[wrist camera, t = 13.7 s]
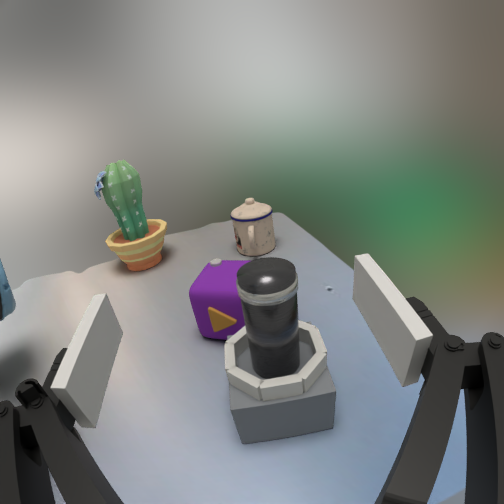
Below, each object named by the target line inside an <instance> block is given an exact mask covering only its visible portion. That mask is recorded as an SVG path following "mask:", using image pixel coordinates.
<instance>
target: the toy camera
mask: <svg viewBox="0 0 504 504" xmlns="http://www.w3.org/2000/svg"><path fill="white" fill-rule="evenodd" d="M248 262H250V261H230V260H222V261H221V259H213V260H211V261H210V263H208V264H207V265H206V267H205V268H204V269H203V270H202V272H201V273H200V275H199V276H198V277H197V279H196V280H195V281H194V283H193V284H192V286H191V287H190V290H189V297H190V301H191V305H192V308H193V312H194V315H195V318H196V322H197V325H198V328H199V331H200V333H201V334H202V335H203V336H204V337H208V338H215V339H225V340H227V336H229V335H234V334H236V333H237V332H238V331H239V330H240V329H242V328H243V327H244V326H245V322H244V316H243V310H242V304H241V298H240V297H239V295H238V291H237V286H236V280H237V271H238V270H239V268H240V267H241V266H243V265H244V264H246V263H248Z"/></svg>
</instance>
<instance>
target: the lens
mask: <svg viewBox="0 0 504 504" xmlns="http://www.w3.org/2000/svg"><path fill="white" fill-rule="evenodd" d="M236 286H237V291H238V295H239V297H240V298H241V304H242V310H243V316H244V322H245V327H246V333H247V339H248V344H249V350H250V355H251V361H252V366H253V369H254V371H255V372H256V374H258V375H259V376H261V377H263V378H265V379H272V378H278V377H283V376H289V375H292V374H293V373H295V372H296V370H297V369H298V368H299V365H300V344H299V323H298V304H297V290H298V276H297V273H296V271H295V266H294V265H293V264H292V263H291V262H289V261H288V260H285V259H281V258H272V257H270V258H260V259H256V260H253V261H250V262H248V263H246V264H244V265H243V266H241V267H240V268H239V270H238V271H237V280H236Z"/></svg>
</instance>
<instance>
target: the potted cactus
mask: <svg viewBox="0 0 504 504" xmlns="http://www.w3.org/2000/svg"><path fill="white" fill-rule="evenodd" d="M100 174H101V176H99V175H100ZM100 190H102V193H103V196H104V198H105V201H106V203H107V205H108V206H109V207H110V209H111V210H112V211H113V213H114V215H115V217H116V220H117V222H118V224H119V226H120V229H118V230H116V231H115V232H113V233H112V234H110V235H109V237H108V238H107V240H106V241H105V242H106V243H107V245H108V247H109V248H110V249H111V250H112V251H115V253H116V254H117V255H118V257H119V258H120V259H121V260H122V261H123V262H125V263H126V264H127V267H128V268H129V270H132V271H140V270H146V269H148V268H151V267H153V266H155V265H156V264H158V263H159V262H160V261H161V259H162V255H161V254H160V252H161V249H162V247H163V243H164V235H165V233H166V230H167V223H166V222H164V221H163V220H160V219H157V220H156V219H148V220H146V217H145V213H144V210H143V206H142V188H141V182H140V177H139V174H138V172H137V171H136V170H135V169H134V168H133V167H132V166H131V165H130V164H128V163H127V162H126V161H125V160H123V161H120V160H119V161H118V162H117V163H110V165H107V166H106V169H105V171H103V172H100V173H99V174H98V176H97V180H96V185H95V189H94V192H95V194H96V196H97V197H98V198H99V200H100V199H101V198H100V197H101V195H100V192H99V191H100ZM96 191H97V192H96Z"/></svg>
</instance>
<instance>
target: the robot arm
mask: <svg viewBox="0 0 504 504" xmlns="http://www.w3.org/2000/svg"><path fill="white" fill-rule="evenodd" d="M353 300H354V302H355V304H356V305H357V307H358V309H359V310H360V312H361V314H362V316H363V317H364V319H365V321H366V322H367V324H368V326H369V328H370V329H371V331H372V333H373V335H374V336H375V338H376V340H377V342H378V343H379V345H380V347H381V349H382V351H383V352H384V354H385V356H386V358H387V360H388V361H389V363H390V365H391V367H392V369H393V370H394V372H395V374H396V376H397V378H398V380H399V382H400V383H401V385H402V387H404V386H407V385H410V384H413V383H416V382H418V380H419V377H420V374H422V375H423V377H424V379H425V381H424V383H423V386H422V388H421V391H420V393H419V395H420V396H419V399H418V402H417V405H416V408H415V411H414V414H413V417H412V419H411V422H410V425H409V428H408V430H407V433H406V435H405V438H404V440H403V443H402V445H401V448H400V450H399V453H398V455H397V457H396V460H395V462H394V464H393V467H392V469H391V471H390V473H389V475H388V477H387V480H386V482H385V484H384V486H383V488H382V490H381V492H380V494H379V496H378V498H377V500H376V502H375V504H427V502H428V499H429V497H430V494H431V492H432V489H433V486H434V484H435V481H436V478H437V475H438V472H439V469H440V466H441V463H442V460H443V457H444V454H445V451H446V447H447V444H448V440H449V437H450V433H451V429H452V425H453V421H454V417H455V413H456V408H457V404H458V399H459V394H460V389H464V396H465V409H466V430H467V472H466V492H465V504H504V337H503V336H502V335H500V334H498V333H494V332H490V333H486V334H485V335H484V336H483V337H482V340H481V342H475V343H465V342H464V340H462V339H461V338H460V337H458V336H455V335H449V334H448V333H447V332H446V331H445V329H444V328H443V327H442V325H441V324H440V323H439V322H438V321H437V319H436V318H435V317H434V316H433V314H432V313H431V312H430V311H429V310H428V308H427V307H426V306H425V305H424V303H423V302H422V301H420V300H418V299H417V298H415V297H410V298H406V299H405V298H404V297H403V295H402V294H401V293H400V292H399V290H398V289H397V288H396V287H395V285H394V284H393V283H392V282H391V280H390V279H389V278H388V277H387V276H386V274H385V273H384V272H383V271H382V269H381V268H380V267H379V266H378V265H377V264H376V262H375V261H374V260H373V259H372V258H371V256H370V255H369V254H362V255H356V256H355V264H354V285H353ZM15 306H16V303H15V299H14V296H13V294H12V291H11V289H10V286H9V284H8V280H7V277H6V274H5V271H4V268H3V265H2V262H1V260H0V321H2V320H3V319H4V318H5V317H6V316H8V315H9V314H11V313H12V312H13V311H14V310H15ZM122 335H123V331H122V329H121V327H120V325H119V322H118V320H117V318H116V315H115V313H114V311H113V308H112V306H111V304H110V301H109V299H108V296H107V294H106V293H105V294H97V295H94V296H93V298H92V300H91V302H90V304H89V306H88V308H87V310H86V312H85V314H84V316H83V318H82V320H81V322H80V324H79V326H78V328H77V330H76V332H75V334H74V336H73V338H72V340H71V342H70V345H69V347H68V348H63V349H62V350H61V351H60V352H59V353H58V355H57V356H56V358H55V360H54V362H53V365H52V367H51V369H50V371H49V373H48V376H47V378H46V380H45V382H44V385H43V387H41V385H40V384H39V383H38V381H37V380H35V379H27V380H25V381H23V382H22V383H20V385H19V386H18V387H17V389H16V392H15V396H16V398H17V399H18V400H19V401H20V403H21V404H22V406H18V407H14V405H13V404H12V403H11V402H10V401H7V400H5V401H2V402H0V504H55V500H54V495H53V491H52V486H51V482H50V477H49V471H48V468H49V470H50V472H51V474H52V476H53V478H54V480H55V483H56V485H57V487H58V489H59V491H60V493H61V494H62V496H63V498H64V500H65V502H66V504H124V503H123V502H122V501H121V499H120V498H119V496H118V495H117V494H116V492H115V491H114V489H113V488H112V487H111V485H110V484H109V482H108V481H107V479H106V478H105V476H104V475H103V473H102V472H101V470H100V469H99V467H98V465H97V464H96V462H95V461H94V459H93V457H92V456H91V454H90V452H89V451H88V449H87V447H86V446H85V444H84V442H83V440H82V439H81V437H80V435H79V433H78V432H77V430H76V429H75V428H74V427H73V426H74V423H75V420H76V421H77V422H78V424H79V425H80V426H81V427H85V428H96V425H97V421H98V417H99V413H100V409H101V406H102V402H103V398H104V395H105V391H106V387H107V384H108V380H109V377H110V373H111V370H112V367H113V363H114V360H115V357H116V354H117V350H118V347H119V344H120V341H121V338H122ZM47 465H48V466H47Z"/></svg>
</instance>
